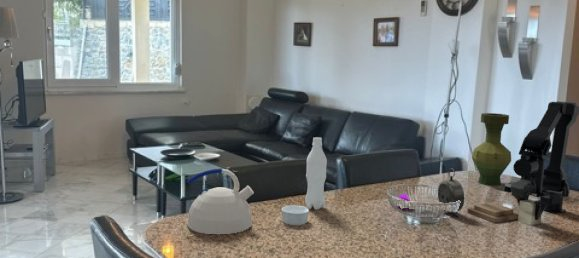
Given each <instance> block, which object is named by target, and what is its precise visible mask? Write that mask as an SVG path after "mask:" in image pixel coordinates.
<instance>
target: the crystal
mask: <svg viewBox="0 0 579 258" xmlns="http://www.w3.org/2000/svg"><path fill="white" fill-rule="evenodd" d="M397 197H399V198H401V199H404V200H407V201H411V200H410V198H409V195H408V194H407V192H406V193H403V194H401V195H399V196H397Z"/></svg>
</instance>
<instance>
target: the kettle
mask: <svg viewBox="0 0 579 258" xmlns="http://www.w3.org/2000/svg"><path fill="white" fill-rule="evenodd" d="M213 174H226V175H228V176H229V177H230V178H231V179H232V182H233V189H231V188H228V187H224V186H223V187H222V186H221V187H217V186H216V187H213V188H210V189H207V188H205V189H202V190H200V192H199V195H198V196H197V197H196V198H195V199H194V201H193V202H192V203H191V205H190V208H189V210H188V219H187V223H186V224H187V227H188V229H190V230H192V231H194V232H195V233H200V234H203V233H204V234H203V235H209V234H217V235H216V236H221V235H220V234H227V235H232V234H231V233H235V234H238V233H237V232H239V233H242V232H244V230H245V231H247V230H249V229H250V228H251V227H252V225H253V223H252V222H253V221H252V213H251V212H252V211H251V208H250V206H249V203H248V201H247V200H248V199H249V198H250V197H251V196H252V195H254V193H255V192H254V190H253V189H252V188H251V187H250V186H249V185H246V187H244V188H242V190H240V182H239V178H238V177H237V176H236V174H235V173H234V172H233V171H231V170H230V169H224V168H214V169H208V170H205V171H202V172H199V173H197V174H194V176H192V177H189V179H188V180H187V181H186V182H187V183H188V184H193V183H194V182H195V181H197V180H198V179H201V178H202V177H205V176H208V175H213ZM239 190H240V191H239ZM249 227H250V228H249ZM246 229H247V230H246ZM241 231H242V232H241ZM218 234H219V235H218Z"/></svg>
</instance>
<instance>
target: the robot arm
mask: <svg viewBox="0 0 579 258" xmlns="http://www.w3.org/2000/svg"><path fill="white" fill-rule="evenodd" d="M578 116H579V106H578V105H577V103H576V102H571V101H569V102H567V101H560V100H559V101H558V100H557V101H550V102H549V103H548V105H547V110H546V111H545V113H544V115H543V116H542V118H541V120H540V121H539V123H538V125H537V127H535V128H534V129H531V130H530V131H529V132H528V133H527V134H526V136H524V139H523V141H522V143H521V145H520V149H519V152H518V155H519V156H520V158H519V159H517V160H515V162H514V164H513V166H512V167H513V168H512V169H513V171H514V173H515V175H517V176H519V177H520V179H519V180H516V181H511V182H506V183H505V184H504V185H503V192H507V193H509V194H510V193H511V196H512V197H514V198H515V199H516V202H517V204H518V205H519V204H520V201H521V200H528V199H530V196H533V197H537V198H538V200H534V202H535V204H536V210H535V220H538V219H539V218H540V216H541V217H542V215H543V213H544V211H546V212H549V213H551V214H558V213H564V212H565V213H566V212H567V209H564V208H563V205H564V198H568V197H569V196H570V189H571V188H570V186H569V185H570V184H569V183H568V180H567V179H568V178H567V177H568V175H567V172H566V170H565V168H564V165H565V159H566V153H567V147H568V140H569V135H570V129H571V127H572V126H573V125H574V124H575V123H576V121H577V118H578ZM552 134H553V137H552V138H553V139H552V140H551V135H552ZM550 150H551V151H550ZM549 152H550V157H549V163H548V166H546V167H545V163H546V162H545V161H546V158H547V156H548V155H549ZM541 214H542V215H541Z"/></svg>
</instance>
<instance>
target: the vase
mask: <svg viewBox="0 0 579 258" xmlns="http://www.w3.org/2000/svg"><path fill="white" fill-rule="evenodd" d="M480 115H481V116H480V123H483V124H484V126H485V141H484V142H482V143H481V144H479V145H477V146H476V147H474V149H473V150H472V155H471V159H472V161H473V163H474V165H475V167H476V170H477V171H478V173H479V178H478V181H477V183H478V184H481V185H485V186H492V187H493V186H494V187H495V186H496V187H498V186H501V184H502V183H501V176H502V175H503V173H504V172H505V171H506V169H507V168H508V167H509V165H510V164H511V163H512V151H510V150H509V149H508V148H507V147H506V146H505V145H504V144H503V143H501V140H502V132H503V128H504V126H505V125H509V121H510V115H509V114H505V113H504V114H503V113H495V112H493V113H492V112H491V113H489V112H483V113H481V114H480Z"/></svg>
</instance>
